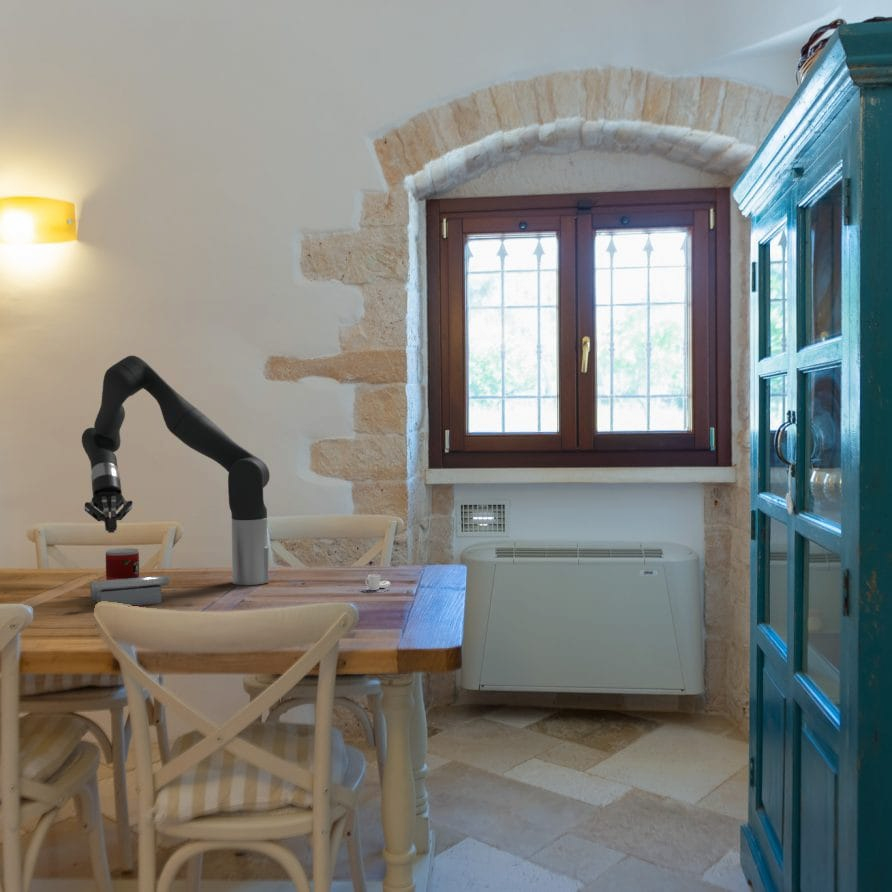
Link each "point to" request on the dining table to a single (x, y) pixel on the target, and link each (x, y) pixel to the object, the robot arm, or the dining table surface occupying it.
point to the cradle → (129, 590)
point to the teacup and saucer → (376, 582)
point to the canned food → (122, 563)
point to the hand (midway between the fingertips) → (111, 530)
